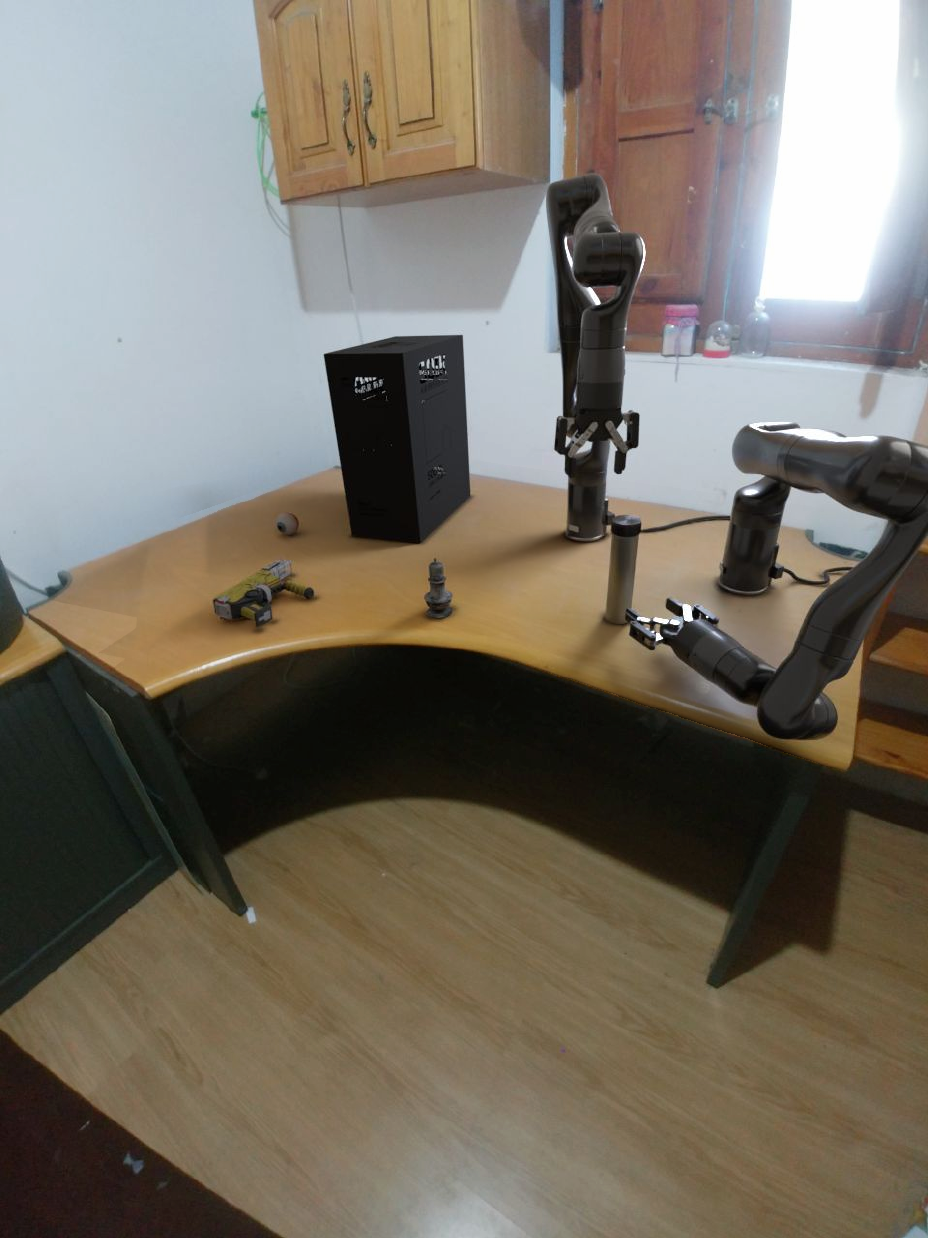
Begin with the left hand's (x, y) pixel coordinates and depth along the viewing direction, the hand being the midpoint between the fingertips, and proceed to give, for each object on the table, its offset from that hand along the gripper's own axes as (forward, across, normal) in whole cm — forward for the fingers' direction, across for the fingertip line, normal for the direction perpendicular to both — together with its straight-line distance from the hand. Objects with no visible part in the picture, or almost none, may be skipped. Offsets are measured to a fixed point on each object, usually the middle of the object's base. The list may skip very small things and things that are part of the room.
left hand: (594, 475), depth 106 cm
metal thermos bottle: (+28, -5, +3) cm, 28 cm away
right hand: (+21, -7, +12) cm, 25 cm away
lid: (+8, -5, +4) cm, 10 cm away
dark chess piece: (+28, +28, -7) cm, 41 cm away
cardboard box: (+27, +29, -66) cm, 77 cm away
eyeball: (+28, +64, -60) cm, 92 cm away
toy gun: (+28, +62, -21) cm, 72 cm away
